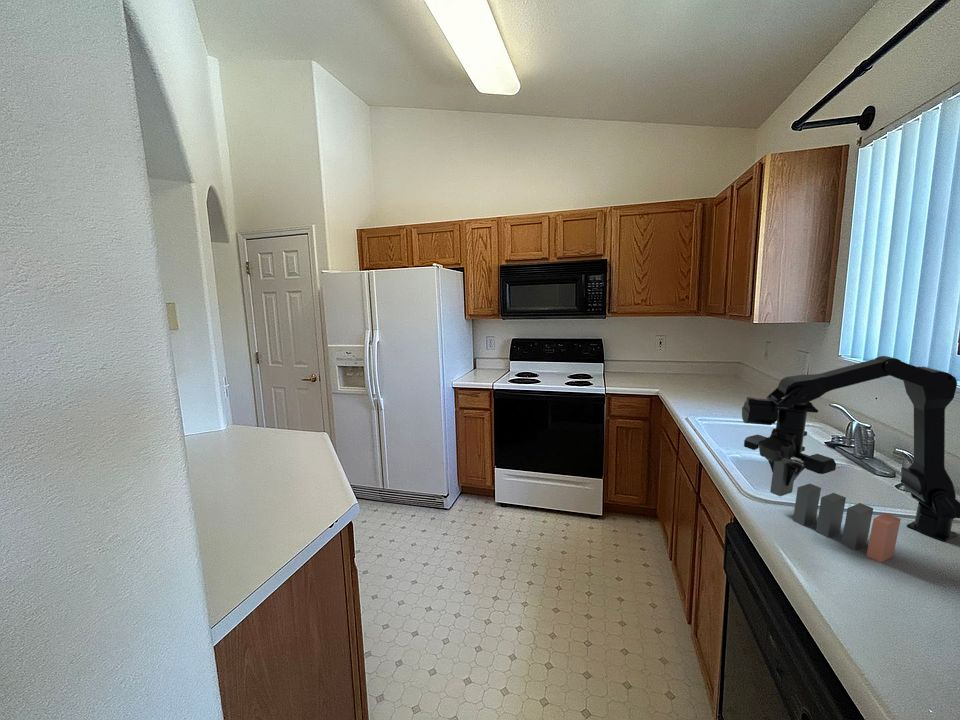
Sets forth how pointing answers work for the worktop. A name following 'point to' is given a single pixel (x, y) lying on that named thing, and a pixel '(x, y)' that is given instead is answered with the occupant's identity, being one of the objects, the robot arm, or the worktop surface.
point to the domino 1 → (781, 478)
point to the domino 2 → (806, 504)
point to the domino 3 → (830, 514)
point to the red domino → (883, 537)
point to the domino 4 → (857, 526)
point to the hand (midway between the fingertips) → (782, 483)
